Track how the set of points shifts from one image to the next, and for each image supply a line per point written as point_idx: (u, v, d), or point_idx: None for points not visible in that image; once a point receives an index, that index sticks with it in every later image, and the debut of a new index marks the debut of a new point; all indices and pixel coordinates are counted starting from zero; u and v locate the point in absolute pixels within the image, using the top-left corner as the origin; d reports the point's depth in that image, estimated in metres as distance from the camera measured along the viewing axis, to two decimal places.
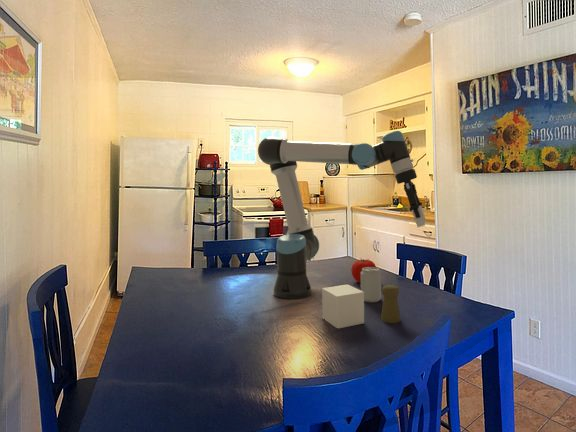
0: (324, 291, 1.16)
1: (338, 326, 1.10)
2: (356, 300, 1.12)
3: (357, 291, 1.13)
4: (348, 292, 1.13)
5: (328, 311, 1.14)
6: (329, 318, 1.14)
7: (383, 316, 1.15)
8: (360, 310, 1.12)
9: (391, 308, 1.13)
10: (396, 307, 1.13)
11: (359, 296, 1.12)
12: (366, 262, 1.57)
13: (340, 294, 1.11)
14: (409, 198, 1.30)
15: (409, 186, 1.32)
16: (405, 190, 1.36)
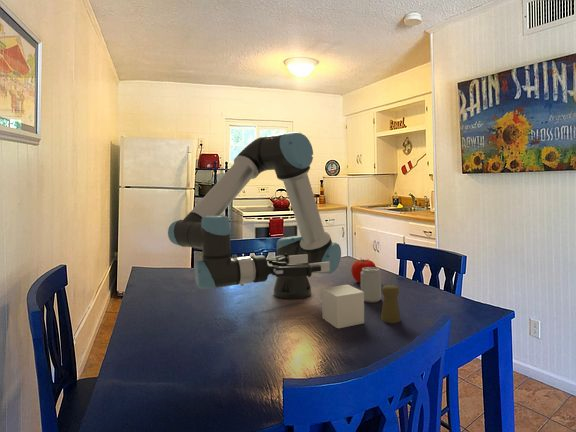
0: (324, 291, 1.16)
1: (338, 326, 1.10)
2: (356, 300, 1.12)
3: (357, 291, 1.13)
4: (348, 292, 1.13)
5: (328, 311, 1.14)
6: (329, 318, 1.14)
7: (383, 316, 1.15)
8: (360, 310, 1.12)
9: (391, 308, 1.13)
10: (396, 307, 1.13)
11: (359, 296, 1.12)
12: (366, 262, 1.57)
13: (340, 294, 1.11)
14: None
15: None
16: None
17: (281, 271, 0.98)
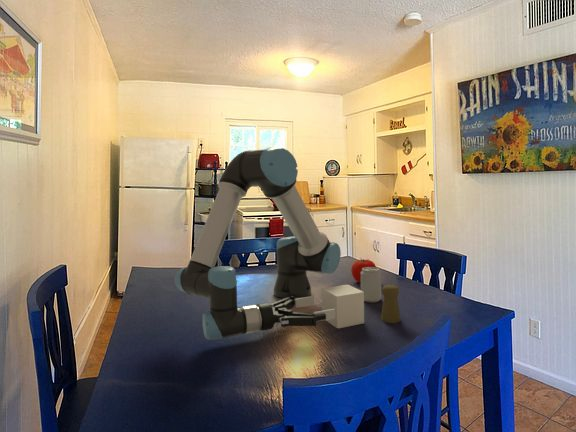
0: (324, 291, 1.16)
1: (338, 326, 1.10)
2: (356, 300, 1.12)
3: (357, 291, 1.13)
4: (348, 292, 1.13)
5: None
6: None
7: (383, 316, 1.15)
8: (360, 310, 1.12)
9: (391, 308, 1.13)
10: (396, 307, 1.13)
11: (359, 296, 1.12)
12: (366, 262, 1.57)
13: (340, 294, 1.11)
14: None
15: None
16: None
17: (286, 321, 1.00)
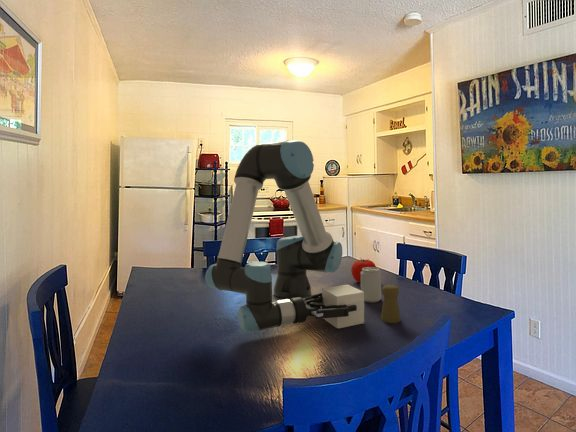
0: (324, 291, 1.16)
1: (338, 326, 1.10)
2: (356, 300, 1.12)
3: (357, 291, 1.13)
4: (348, 292, 1.13)
5: None
6: (329, 318, 1.14)
7: (383, 316, 1.15)
8: (360, 310, 1.12)
9: (391, 308, 1.13)
10: (396, 307, 1.13)
11: (359, 296, 1.12)
12: (366, 262, 1.57)
13: (340, 294, 1.11)
14: None
15: None
16: (309, 300, 1.14)
17: (321, 314, 1.05)
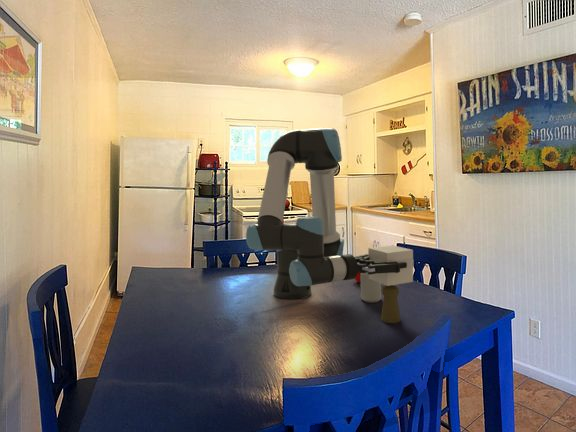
0: (371, 250, 1.15)
1: (388, 283, 1.08)
2: (405, 258, 1.10)
3: (406, 249, 1.12)
4: (397, 250, 1.11)
5: None
6: (376, 277, 1.13)
7: (383, 316, 1.15)
8: (409, 268, 1.11)
9: (391, 308, 1.13)
10: (396, 307, 1.13)
11: (408, 254, 1.10)
12: None
13: (389, 251, 1.09)
14: None
15: None
16: None
17: (373, 269, 1.04)
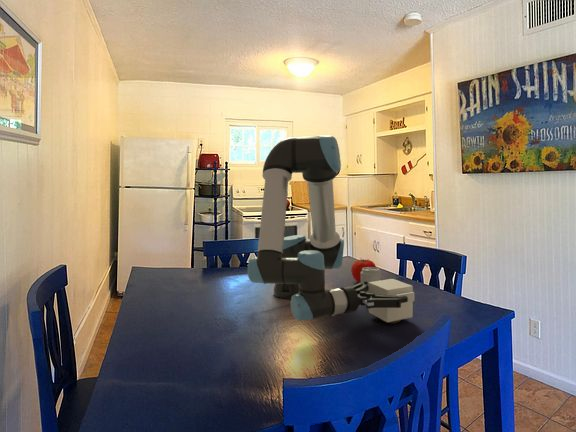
0: (371, 285, 1.16)
1: (388, 320, 1.09)
2: None
3: (406, 285, 1.13)
4: (397, 286, 1.12)
5: None
6: (376, 311, 1.14)
7: None
8: (409, 304, 1.12)
9: None
10: None
11: (408, 290, 1.12)
12: (366, 262, 1.57)
13: (389, 288, 1.10)
14: None
15: None
16: None
17: (372, 303, 1.04)
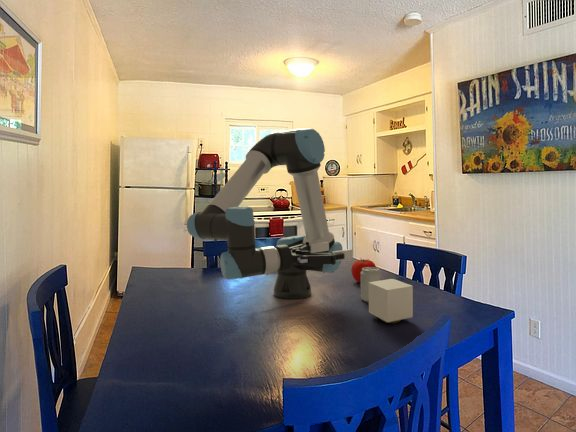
0: (371, 285, 1.16)
1: (388, 320, 1.09)
2: (405, 294, 1.11)
3: (406, 285, 1.13)
4: (397, 286, 1.12)
5: (376, 305, 1.14)
6: (377, 312, 1.14)
7: None
8: (409, 304, 1.12)
9: None
10: None
11: (408, 290, 1.12)
12: (366, 262, 1.57)
13: (389, 288, 1.10)
14: None
15: None
16: None
17: (305, 260, 0.99)
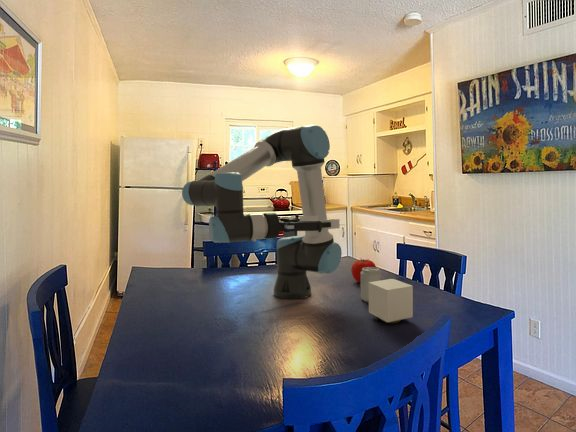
0: (371, 285, 1.16)
1: (388, 320, 1.09)
2: (405, 294, 1.11)
3: (406, 285, 1.13)
4: (397, 286, 1.12)
5: (376, 305, 1.14)
6: (377, 312, 1.14)
7: None
8: (409, 304, 1.12)
9: None
10: None
11: (408, 290, 1.12)
12: (366, 262, 1.57)
13: (389, 288, 1.10)
14: None
15: None
16: None
17: (292, 226, 1.02)
